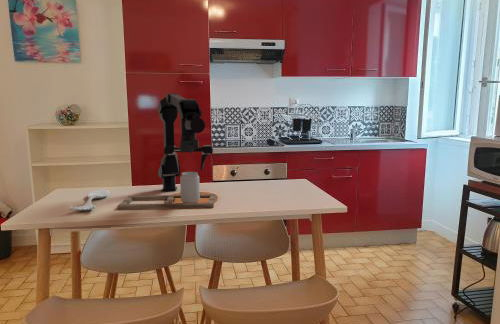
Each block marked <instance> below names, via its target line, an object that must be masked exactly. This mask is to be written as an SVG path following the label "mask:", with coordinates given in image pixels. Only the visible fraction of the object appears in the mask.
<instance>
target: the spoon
mask: <svg viewBox="0 0 500 324" xmlns="http://www.w3.org/2000/svg"><path fill="white" fill-rule="evenodd" d="M110 194H111V192H110V191H109V190H107V189H96V190H93V191H90V192H89V193H87V195H86V197H87V198H88V199H87V201H86V203H85V204H83V205H80V206H70V207H69V209H70V210H75V211H84V212H85V211H91V210H94V209H96V205H93V204H92V200H93V199H96V200H97V199H98V200H99V199H104V198H105V197H106V198H107V196H109V195H110Z"/></svg>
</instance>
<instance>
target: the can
mask: <svg viewBox="0 0 500 324" xmlns="http://www.w3.org/2000/svg"><path fill="white" fill-rule="evenodd" d="M179 180H180V181H179V184H180V186H179V187H180V195H181V201H182V202H183V203H197V202H198V201H199V200H200V195H201V193H200V190H201V189H200V188H201V187H200V176H199V174H198V172H197V171H196V172H195V171H185V172H181V176H179Z"/></svg>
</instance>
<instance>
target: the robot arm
mask: <svg viewBox="0 0 500 324" xmlns="http://www.w3.org/2000/svg"><path fill="white" fill-rule="evenodd" d="M157 112H158V117H159V119H160V120H161V121H162V125H163V157H162V158H161V160H160V165H159V168H158V171H157V174H158V177H159V178H161V179H162V188H161V190H160V191H161V192H176V191H177V189H178V186H176V178H177V177H179V178H180V173H181V166H180V160H179V158H178V153H182V154H184V153H190V154H191V153H194V152H195V153H196V152H197V153H198V152H200V153H201V159H200V172H203V168H204V165H205V161H206V158H207V156H210V155H211V154H213V153H214V146H213V145H212V144H205V145H202V146H200V144H199V138H198V139H197V134H200V133H202V132H203V131H204V130H205V128H206V123H205V121H204V120H203V118H202V116H203V115H202V110H201V107H200V105H199V103H198V101H197V100H196V99H195V98H185V97H183V96H181V95H179V93H172V92H171V93H166V94H165V97H164V98H162V99H161V100H159V103H158V105H157ZM178 114H179V116H180V117H179V120H180V143H179V147H177V145H175V122H176V120H177V119H178Z"/></svg>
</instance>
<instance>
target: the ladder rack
mask: <svg viewBox="0 0 500 324" xmlns="http://www.w3.org/2000/svg"><path fill="white" fill-rule="evenodd" d="M174 198H181V194H167V195H166V194H161V195H160V194H159V195H158V194H157V195H156V194H155V195H150V194H148V195H128V196H126V198H124V199H123V201H121V202H120V203H119V204H118V205H117V206H116V207H117V210H118V211H120V210H124V211H125V210H165V209H166V210H167V209H173V210H175V209H177V210H178V209H213V208H214V207H215V203H216V202H215V200H216V194H209V193H208V194H200V198H210V199H209V202H208V203H173V202H172V201H173V199H174ZM165 199H167V200H165ZM134 201H164V203H132V202H134Z"/></svg>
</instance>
